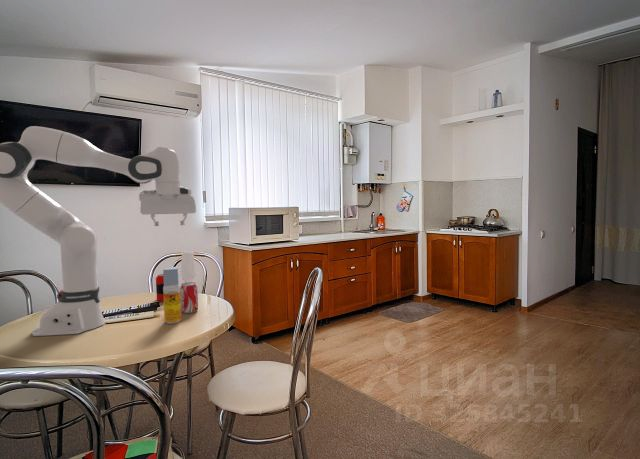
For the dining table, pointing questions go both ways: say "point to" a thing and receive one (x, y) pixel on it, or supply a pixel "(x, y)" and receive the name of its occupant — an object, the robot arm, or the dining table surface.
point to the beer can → (172, 303)
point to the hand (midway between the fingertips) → (169, 225)
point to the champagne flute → (188, 267)
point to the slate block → (170, 276)
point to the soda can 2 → (189, 297)
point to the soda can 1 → (160, 287)
